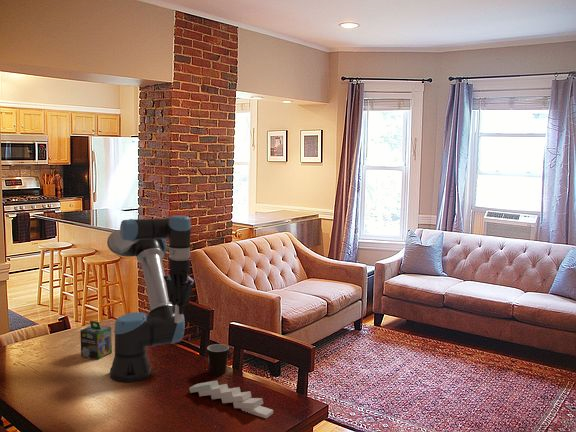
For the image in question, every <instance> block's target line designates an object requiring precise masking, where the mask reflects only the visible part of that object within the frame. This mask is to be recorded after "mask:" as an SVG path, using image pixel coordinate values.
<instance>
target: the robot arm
mask: <svg viewBox="0 0 576 432" xmlns="http://www.w3.org/2000/svg"><path fill="white" fill-rule="evenodd" d="M191 224H192V223H191V218H190V216H188V215H171V216H169V217H164V218H142V219H138V218H136V219H135V218H134V219H133V218H129V219H122V220H121V221H120V225H119V226H120V228H119V229H117V230H114V231H113V232H111V233H110V234H108V235H109V236H108V238H107V241H106V242H107V243H106V244H107V248H108V249H109V250H110V251H111V253H113V254H114V255H117V256H120V257H126V258H127V257H128V258H129V257H136V261H137V262H138V263H139V264H141V268H142V273H143V278H144V283H145V288H146V292H147V297H148V302H149V304H148V305H149V308H150V310H149V311H148V313H147V314H146V313H145V312H141V311H136V312H135V311H134V312H129V313H125V314H123V315H121V316H119V317H118V318H116V320H115V324H114V330H113V331H114V332H113V333H114V358H113V360H112V364H111V367H110V370H109V377H110V379H111V380H113V381H115V382H120V383H133V382H139V381H142V380H145V379H147V378H148V377H150V375H151V371H152V370H151V365H150V362H149V359H148V356H147V348H148V347H155V346H163V345H169V344H171V345H172V344H175V343H179V342H181V341H182V339H183V338H184V334H185V324H186V322H185V321H186V320H185V315H184V314H185V306H186V305H187V304H189V303H190V300H191V296H192V290H193V285H194V284H195V282H196V280H195V278H191V277H190V269H191V259H190V258H191V232H192V231H191V229H192V225H191ZM166 239H168V246H167V240H166ZM167 247H168V258H169V259H168V270H169V272H168V274H166V272H165V269H164V265H163V264H164V263H163V260H162V259H163V258H164V256H165V254H166V252H167Z"/></svg>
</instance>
